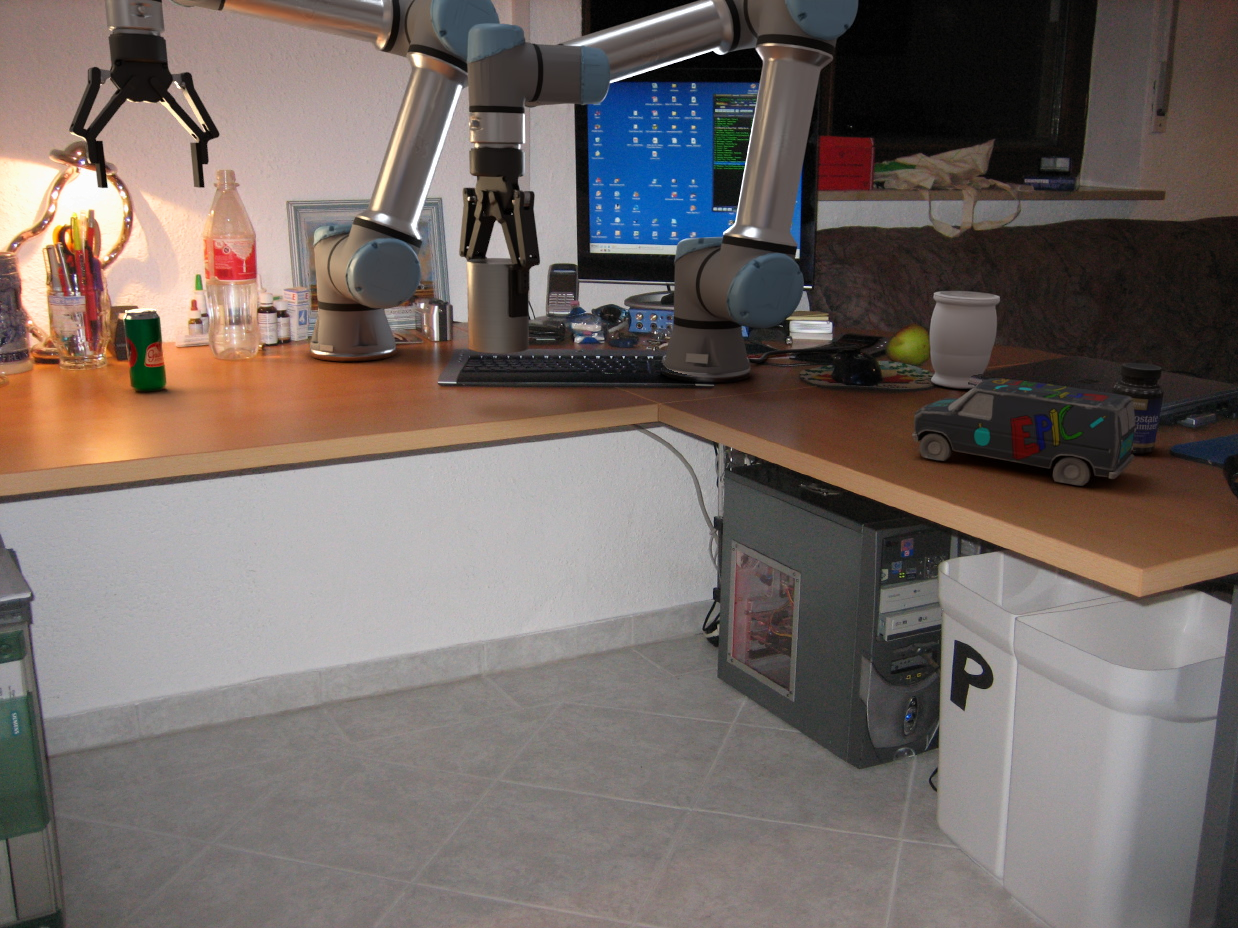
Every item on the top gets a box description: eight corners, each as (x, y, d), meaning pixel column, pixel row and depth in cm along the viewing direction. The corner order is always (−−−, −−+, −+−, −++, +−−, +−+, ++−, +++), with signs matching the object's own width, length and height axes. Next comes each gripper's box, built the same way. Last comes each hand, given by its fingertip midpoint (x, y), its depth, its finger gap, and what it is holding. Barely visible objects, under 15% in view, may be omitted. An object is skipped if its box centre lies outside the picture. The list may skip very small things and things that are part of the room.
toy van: (935, 438, 144) (942, 365, 141) (1133, 472, 130) (1146, 392, 127) (905, 455, 135) (913, 378, 133) (1114, 493, 122) (1127, 408, 119)
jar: (911, 380, 181) (920, 291, 177) (960, 376, 185) (969, 289, 181) (953, 393, 172) (963, 299, 168) (1003, 388, 176) (1014, 297, 172)
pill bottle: (1117, 454, 138) (1130, 370, 135) (1094, 442, 144) (1106, 361, 140) (1163, 454, 138) (1177, 370, 135) (1139, 442, 144) (1152, 361, 141)
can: (456, 349, 152) (454, 261, 148) (492, 340, 159) (491, 257, 155) (505, 355, 147) (504, 265, 144) (540, 346, 155) (540, 260, 151)
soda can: (154, 393, 161) (145, 313, 158) (124, 391, 162) (115, 312, 158) (173, 386, 166) (166, 309, 162) (144, 384, 167) (136, 307, 163)
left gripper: (44, 24, 142) (65, 189, 148) (233, 39, 157) (245, 188, 163) (34, 29, 148) (54, 187, 154) (217, 42, 163) (229, 186, 169)
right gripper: (430, 145, 151) (435, 305, 157) (522, 147, 135) (523, 324, 142) (475, 146, 155) (477, 302, 162) (568, 148, 140) (566, 319, 147)
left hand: (152, 188), depth 158 cm, fingers open, 13 cm apart
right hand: (498, 312), depth 152 cm, fingers closed on can, 9 cm apart
